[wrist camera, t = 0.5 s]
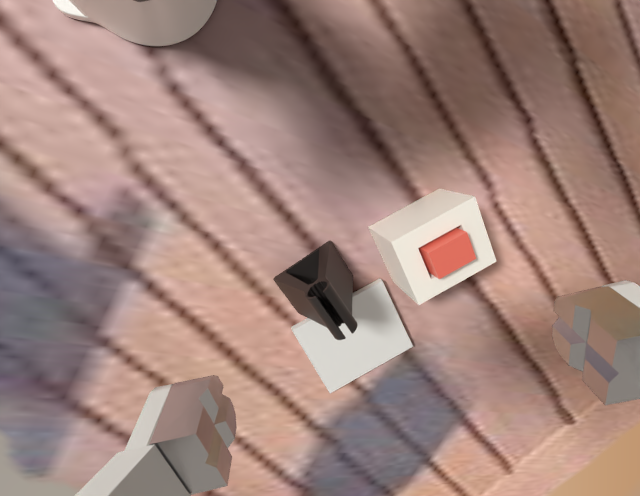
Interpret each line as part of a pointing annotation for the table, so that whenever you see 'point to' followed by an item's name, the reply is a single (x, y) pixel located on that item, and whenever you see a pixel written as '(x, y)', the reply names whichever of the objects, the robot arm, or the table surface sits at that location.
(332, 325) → the phone stand
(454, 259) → the button
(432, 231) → the box
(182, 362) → the table surface
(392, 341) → the grey mat
